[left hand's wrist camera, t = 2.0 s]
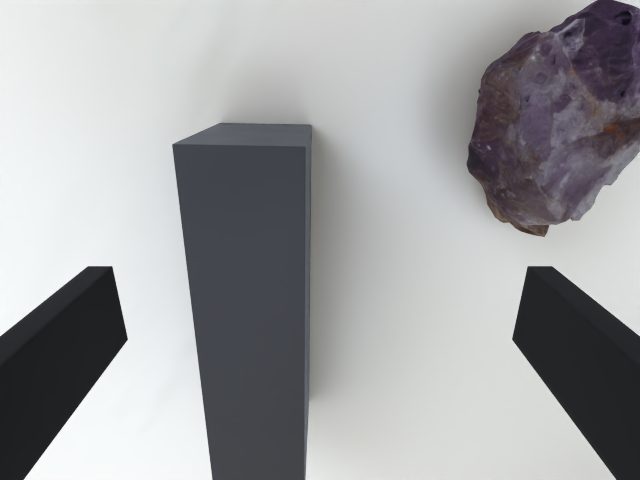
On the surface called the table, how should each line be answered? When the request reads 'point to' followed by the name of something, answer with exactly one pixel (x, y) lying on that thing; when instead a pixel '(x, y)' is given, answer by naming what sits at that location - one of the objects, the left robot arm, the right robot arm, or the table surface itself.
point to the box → (250, 291)
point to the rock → (559, 117)
